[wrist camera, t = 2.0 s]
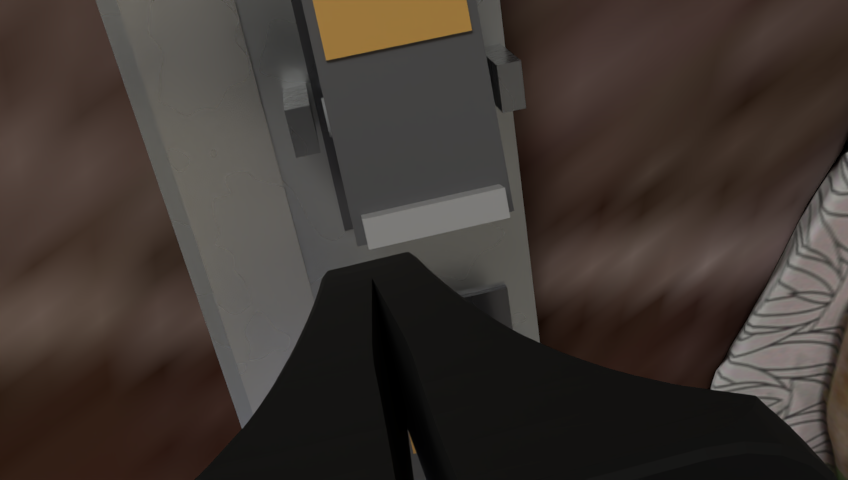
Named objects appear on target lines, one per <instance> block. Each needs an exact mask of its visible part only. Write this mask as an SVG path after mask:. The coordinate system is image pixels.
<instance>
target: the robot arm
mask: <svg viewBox="0 0 848 480" xmlns="http://www.w3.org/2000/svg"><path fill="white" fill-rule="evenodd" d="M408 431H409V434H410V437H411V440H412V442H413V445H414V448H415V450H416V453H417V456H418V458H419V461H420V464H421V467H422V469H423V472H424V475H425V477H426V480H837V478H836V476H835V474H834V473H833V472H832V471H831V469H830V468H829V467H828V466H827V465H826V464H825V463H824V462H823V461H822V460H821V459H820V457H819V456H818V455H817V454H816V453H815V452H814V451H813V450H812V449H811V448H810V446H809V445H808V444H807V443H806V442H805V441H804V440H803V439H802V438H801V437H800V436H799V435H798V434H797V433H796V432H795V431H794V430H793V429H792V428H791V427H790V426H789V425H788V424H787V423H786V422H785V421H783V420H782V419H781V418H780V417H779V416H778V415H777V414H775V413H774V412H773V411H772V410H771V409H770V408H769V407H767V406H766V405H765V404H764V403H763V402H762V401H761V400H760V399H759V398H758V397H757V396H755V395H747V394H740V393H732V392H725V391H717V390H710V389H703V388H695V387H688V386H681V385H675V384H670V383H666V382H661V381H657V380H652V379H648V378H643V377H639V376H634V375H631V374H627V373H623V372H619V371H616V370H612V369H609V368H605V367H602V366H599V365H596V364H593V363H590V362H587V361H584V360H581V359H578V358H576V357H573V356H570V355H567V354H565V353H562V352H560V351H557V350H555V349H552V348H550V347H548V346H545V345H543V344H541V343H539V342H537V341H535V340H533V339H530V338H528V337H526V336H524V335H522V334H520V333H518V332H516V331H514V330H512V329H510V328H509V327H507V326H505V325H504V324H502V323H500V322H499V321H497V320H496V319H494V318H492V317H491V316H489V315H488V314H486V313H485V312H483V311H482V310H480V309H479V308H477V307H476V306H474V305H473V304H472V303H470V302H469V301H468V300H466V299H465V298H463V297H462V296H461V295H459V294H458V293H457V292H455V291H454V290H453V289H452V288H450V287H449V286H448V285H447V284H445V283H444V282H443V281H442V280H441V279H439V278H438V277H437V276H436V275H435V274H434V273H432V272H431V271H430V270H429V269H428V268H427V267H426V266H425V265H424V264H423V263H422V262H421V261H420V260H419V259H418V258H417V257H416V256H414V255H413V254H411V253H409V252H404V253H400V254H396V255H392V256H388V257H383V258H379V259H375V260H371V261H367V262H362V263H358V264H354V265H350V266H346V267H342V268H337V269H333V270H329V271H327V272H326V274H325V275H324V276H323V278H322V279H321V283H320V287H319V290H318V294H317V296H316V299H315V302H314V305H313V307H312V310H311V312H310V315H309V317H308V319H307V322H306V324H305V326H304V328H303V330H302V332H301V335H300V337H299V339H298V341H297V343H296V345H295V347H294V349H293V351H292V353H291V355H290V357H289V358H288V360H287V362H286V364H285V366H284V367H283V369H282V371H281V373H280V374H279V376H278V378H277V380H276V381H275V383H274V385H273V386H272V388H271V389H270V391H269V393H268V394H267V396H266V397H265V399H264V400H263V402H262V403H261V404H260V406H259V407H258V409H257V410H256V412H255V413H254V414H253V416H252V417H251V418H250V420H249V421H248V422H247V424H246V425H245V426H244V427H243V429H242V430H241V431H240V432H239V433H238V434H237V435H236V436H235V437H234V438H233V440H232V441H231V442H230V443H229V444H228V445H227V446H226V447H225V448H224V449H223V451H222V452H221V453H220V454H219V455H218V456H217V457H216V458H215V459H214V460H213V462H212V463H211V464H210V465H209V466H208V467H207V468H206V469H205V470H204V471H203V472H202V473H201V474H200V475H199V476H198V477H197V478H196V479H195V480H414V476H413V468H412V460H411V453H410V445H409V437H408Z"/></svg>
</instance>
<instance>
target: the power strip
mask: <svg viewBox="0 0 848 480" xmlns="http://www.w3.org/2000/svg"><path fill="white" fill-rule="evenodd" d="M476 2H477V7H478V13H479V18H480V24H481V30H482V35H483V41H484V46H485V52H486V57H487V63H488V68H489V74H490V80H491V85H492V91H493V96H494V102H495V107H496V113H497V118H498V124H499V129H500V135H501V141H502V146H503V152H504V157H505V163H506V168H507V174H508V179H509V185H510V190H511V196H512V202H513V207H514V211H512V212H509V213H510V218H506V219H502V220H498V221H493V222H489V223H484V224H480V225H476V226H471V227H467V228H463V229H458V230H454V231H449V232H445V233H441V234H436V235H432V236H428V237H423V238H419V239H414V240H410V241H406V242H401V243H397V244H392V245H388V246H384V247H379V248H375V249H371V250H369V248H368V244H367V245H363V246H358V247H357V242H356V238H355V234H354V230H353V225H352V221H351V216H350V212H349V208H348V203H347V199H346V195H345V190H344V186H343V181H342V177H341V173H340V168H339V164H338V160H337V155H336V151H335V146H334V142H333V138H332V137H330V135H329V131H328V127H327V122H326V118H325V114H324V109H323V105H322V100H321V98H323V94H322V89H321V85H320V81H319V76H318V72H317V67H316V63H315V59H314V54H313V50H312V46H311V41H310V37H309V32H308V28H307V24H306V19H305V15H304V10H303V6H302V2H301V0H96V3H97V6H98V9H99V11H100V14H101V17H102V20H103V23H104V26H105V29H106V32H107V35H108V38H109V41H110V44H111V47H112V50H113V52H114V55H115V58H116V61H117V64H118V67H119V70H120V73H121V76H122V79H123V82H124V85H125V88H126V91H127V93H128V96H129V99H130V102H131V105H132V108H133V111H134V114H135V117H136V120H137V123H138V126H139V129H140V131H141V134H142V137H143V140H144V143H145V146H146V149H147V152H148V155H149V158H150V161H151V164H152V167H153V170H154V172H155V175H156V178H157V181H158V184H159V187H160V190H161V193H162V196H163V199H164V202H165V205H166V208H167V210H168V213H169V216H170V219H171V222H172V225H173V228H174V231H175V234H176V237H177V240H178V243H179V246H180V249H181V251H182V254H183V257H184V260H185V263H186V266H187V269H188V272H189V275H190V278H191V281H192V284H193V287H194V290H195V292H196V295H197V298H198V301H199V304H200V307H201V310H202V313H203V316H204V319H205V322H206V325H207V328H208V330H209V333H210V336H211V339H212V342H213V345H214V348H215V351H216V354H217V357H218V360H219V363H220V366H221V369H222V371H223V374H224V377H225V380H226V383H227V386H228V389H229V392H230V395H231V398H232V401H233V404H234V407H235V409H236V412H237V415H238V418H239V421H240V424H241V427H242V429H243V427H244V426H245V425H246V424H247V422H248V421H249V420H250V418H251V417H252V416H253V414H254V413H255V412H256V410H257V409H258V407H259V406H260V404H261V403H262V402H263V400H264V399H265V397H266V396H267V394H268V393H269V391H270V389H271V388H272V386H273V385H274V383H275V381H276V380H277V378H278V376H279V374H280V373H281V371H282V369H283V367H284V366H285V364H286V362H287V360H288V358H289V357H290V355H291V353H292V351H293V349H294V347H295V345H296V343H297V341H298V339H299V337H300V335H301V332H302V330H303V328H304V326H305V324H306V322H307V319H308V317H309V315H310V312H311V310H312V307H313V305H314V302H315V299H316V296H317V294H318V290H319V287H320V283H321V279H322V278H323V276H324V275H325V274H326V272H327V271H329V270H333V269H337V268H342V267H346V266H350V265H354V264H358V263H362V262H367V261H371V260H375V259H379V258H383V257H388V256H392V255H396V254H400V253H404V252H409V253H411V254H413V255H414V256H416V257H417V258H418V259H419V260H420V261H421V262H422V263H423V264H424V265H425V266H426V267H427V268H428V269H429V270H430V271H431V272H432V273H434V274H435V275H436V276H437V277H438V278H439V279H441V280H442V281H443V282H444V283H445V284H447V285H448V286H449V287H450V288H452V289H453V290H454V291H455V292H457V293H458V294H459V295H461V296H462V297H463V298H465V299H466V300H468V301H469V302H470V303H472V304H473V305H474V306H476V307H477V308H479V309H480V310H482V311H483V312H485V313H486V314H488V315H489V316H491V317H492V318H494V319H496V320H497V321H499V322H500V323H502V324H504V325H505V326H507V327H509V328H510V329H512V330H514V331H516V332H518V333H520V334H522V335H524V336H526V337H528V338H530V339H533V340H535V341H537V342H539V343H540V339H539V331H538V322H537V314H536V305H535V296H534V288H533V279H532V271H531V262H530V254H529V245H528V237H527V228H526V220H525V211H524V203H523V194H522V186H521V177H520V169H519V160H518V152H517V143H516V135H515V126H514V117H513V111H515V110H520V109H524V108H526V102H525V93H524V84H523V75H522V66H521V60H520V59H518V58H517V57H516V56H515V55H514V54H512V53H511V52H510V51H509V50H508V49H506V48H505V41H504V32H503V24H502V15H501V7H500V0H476Z"/></svg>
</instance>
